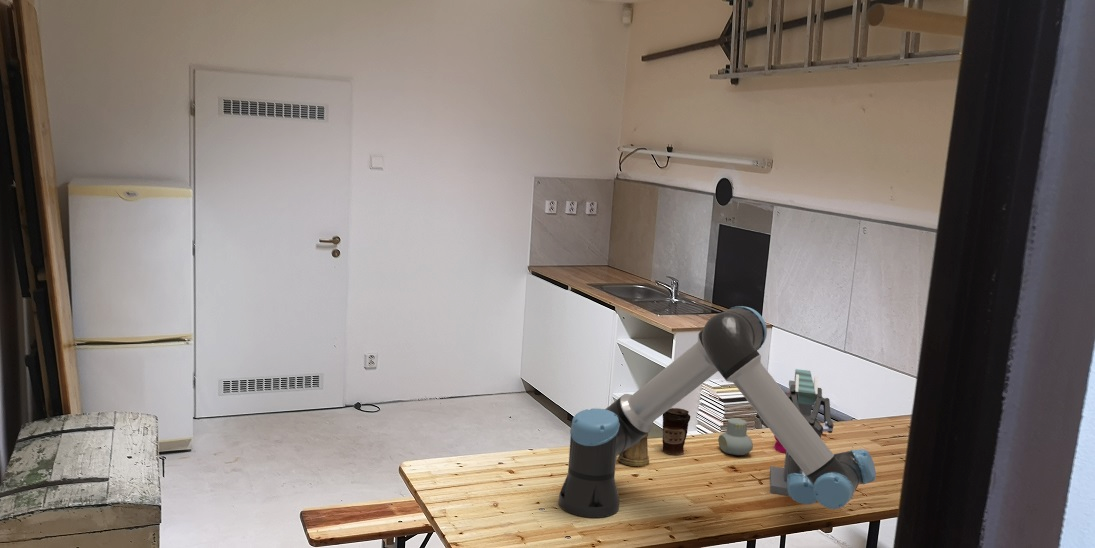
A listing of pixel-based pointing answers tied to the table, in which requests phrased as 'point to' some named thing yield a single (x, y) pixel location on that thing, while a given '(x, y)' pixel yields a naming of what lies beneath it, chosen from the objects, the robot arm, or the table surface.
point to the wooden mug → (636, 454)
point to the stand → (780, 474)
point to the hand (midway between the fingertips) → (806, 379)
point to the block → (805, 387)
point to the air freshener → (736, 438)
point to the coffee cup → (675, 430)
